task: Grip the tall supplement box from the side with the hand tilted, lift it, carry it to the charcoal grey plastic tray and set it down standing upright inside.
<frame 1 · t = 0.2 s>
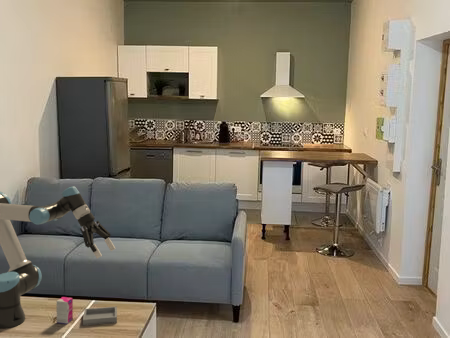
hand: (106, 253, 232), 35 cm above the table, tool tilted 35°, fingers open, 13 cm apart
tray: (100, 318, 241), on the table
supplement box: (64, 321, 238), on the table
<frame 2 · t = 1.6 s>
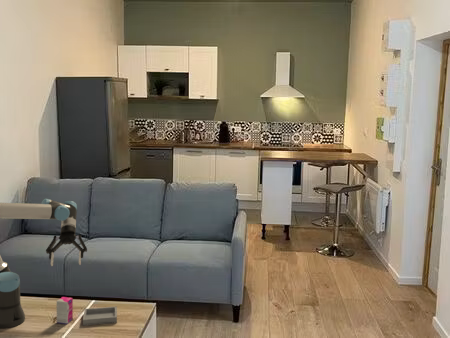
hand: (65, 264, 244), 26 cm above the table, tool tilted 45°, fingers open, 13 cm apart
nothing on the table moved.
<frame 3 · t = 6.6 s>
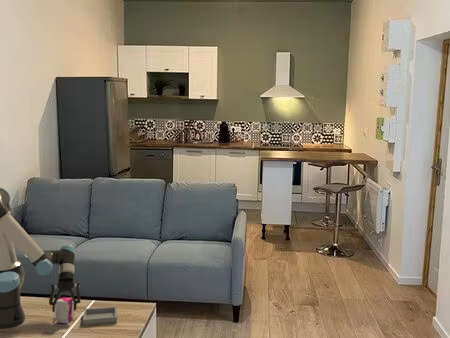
hand: (64, 317, 234), 4 cm above the table, tool tilted 45°, fingers closed on supplement box, 7 cm apart
supplement box: (64, 321, 238), on the table, touching gripper
when the fingers open (6 cm above the table, at t = 11.7 s): supplement box drops 1 cm, resting on tray.
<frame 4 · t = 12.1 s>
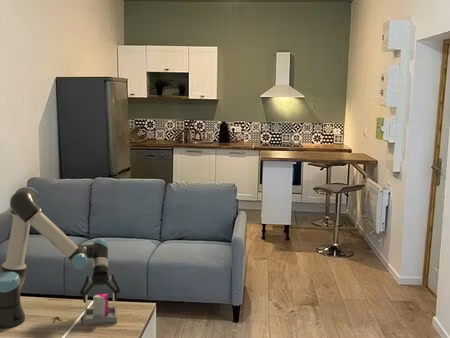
hand: (100, 307, 238), 7 cm above the table, tool tilted 45°, fingers open, 12 cm apart
supplement box: (100, 317, 242), point 1 cm above the table, touching tray
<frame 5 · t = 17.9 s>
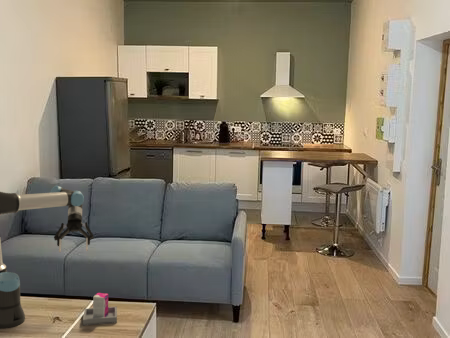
hand: (73, 250, 255), 30 cm above the table, tool tilted 45°, fingers open, 13 cm apart
nothing on the table moved.
at the end: supplement box inside the target area on the tray (0.2 cm from its centre), point 0.6 cm above the tray's base; supplement box tilted 0°; the gripper is holding nothing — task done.
